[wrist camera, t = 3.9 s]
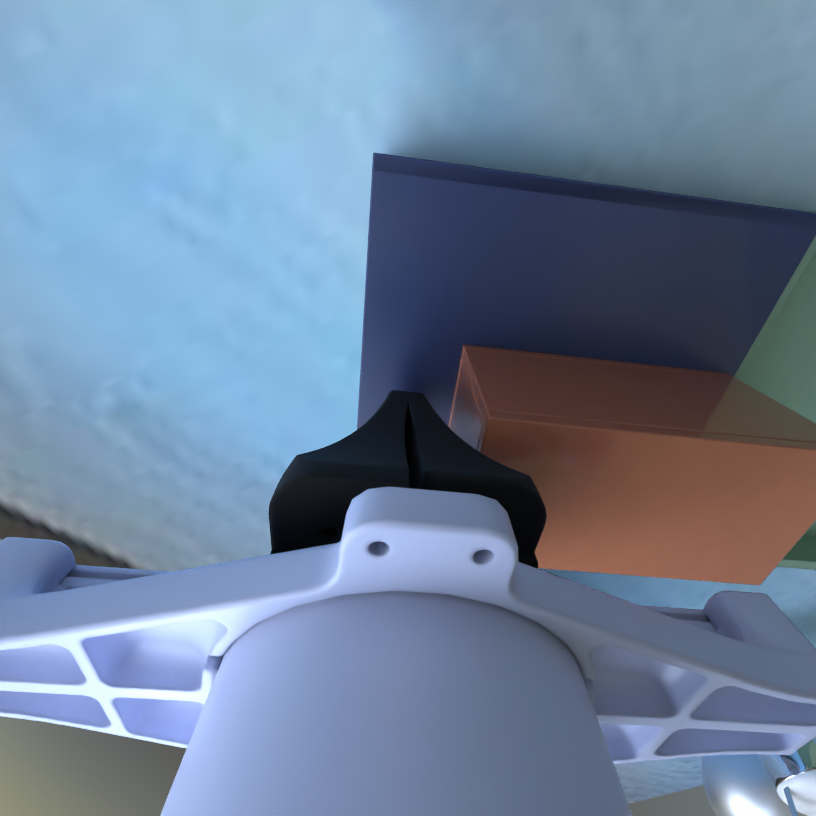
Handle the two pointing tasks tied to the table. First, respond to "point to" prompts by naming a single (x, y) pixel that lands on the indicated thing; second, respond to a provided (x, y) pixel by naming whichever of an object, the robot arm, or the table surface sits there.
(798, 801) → the milkshake
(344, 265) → the table surface
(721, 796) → the ghost figurine
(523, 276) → the book
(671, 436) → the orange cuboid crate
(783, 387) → the tray
